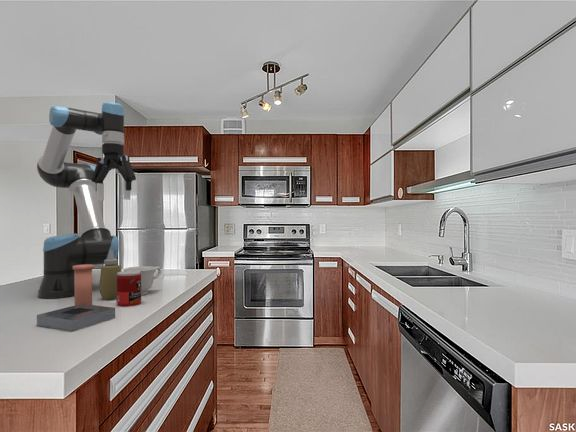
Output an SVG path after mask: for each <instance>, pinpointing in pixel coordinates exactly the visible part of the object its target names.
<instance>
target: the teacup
mask: <svg viewBox="0 0 576 432" xmlns="http://www.w3.org/2000/svg"><path fill="white" fill-rule="evenodd" d="M157 270H158V272H157V274H156V275H155V273H156V271H157ZM122 271H140V272H141V296H143V295H147V294H148V293H149V291H148V290H151V288H152V286H153V282H154V280H156V279H157V278H159V277H160V276H161V274H162V269H161V267H160V266H150V265H147V266H146V265H144V266H143V265H142V266H130V267H125V268H123V270H122ZM154 275H155V276H154Z"/></svg>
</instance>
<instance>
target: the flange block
mask: <svg viewBox="0 0 576 432" xmlns="http://www.w3.org/2000/svg"><path fill="white" fill-rule="evenodd" d="M113 319H116V307H111V306H102V305H96V304H95V305H94V304H92V305H88V304H79V305H75V304H74V305H72V306H68V307H64V308H59V309H55V310H51V311H48V312H42V313H39V314H36V327H42V328H43V327H44V328H50V329H54V330H55V329H56V330H61V331H67V332H74V331H75V332H76V331H77V330H80V329H81V330H82V329H85V328H89V327H90V326H93V325H98V324H99V323H103V322H106V321H109V320H113Z"/></svg>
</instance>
